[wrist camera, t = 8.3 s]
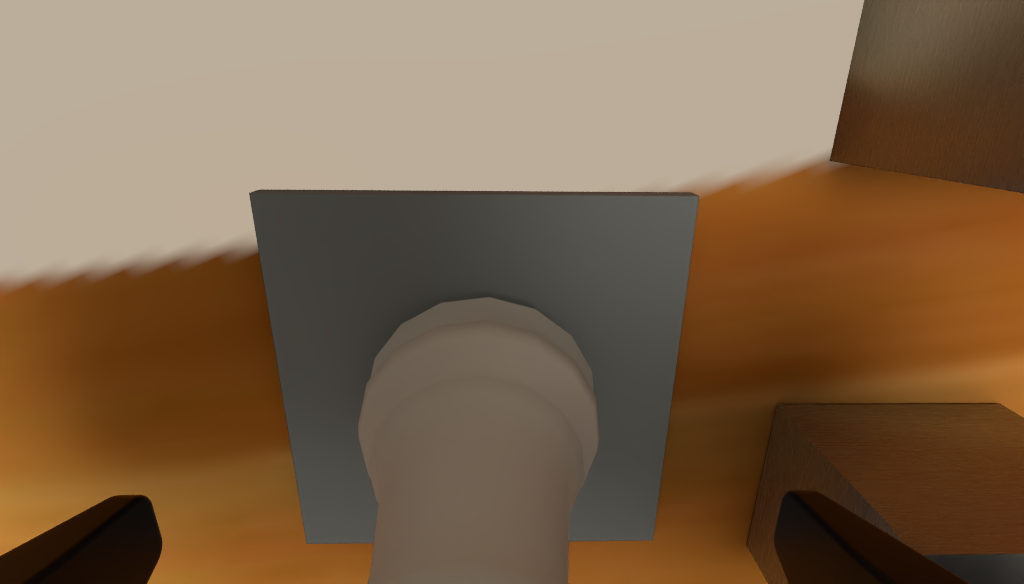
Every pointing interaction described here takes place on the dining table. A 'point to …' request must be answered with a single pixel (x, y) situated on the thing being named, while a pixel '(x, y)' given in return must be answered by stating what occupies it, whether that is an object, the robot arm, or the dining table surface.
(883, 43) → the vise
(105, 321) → the dining table surface
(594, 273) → the mat
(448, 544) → the rook chess piece
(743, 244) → the dining table surface
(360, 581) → the dining table surface
